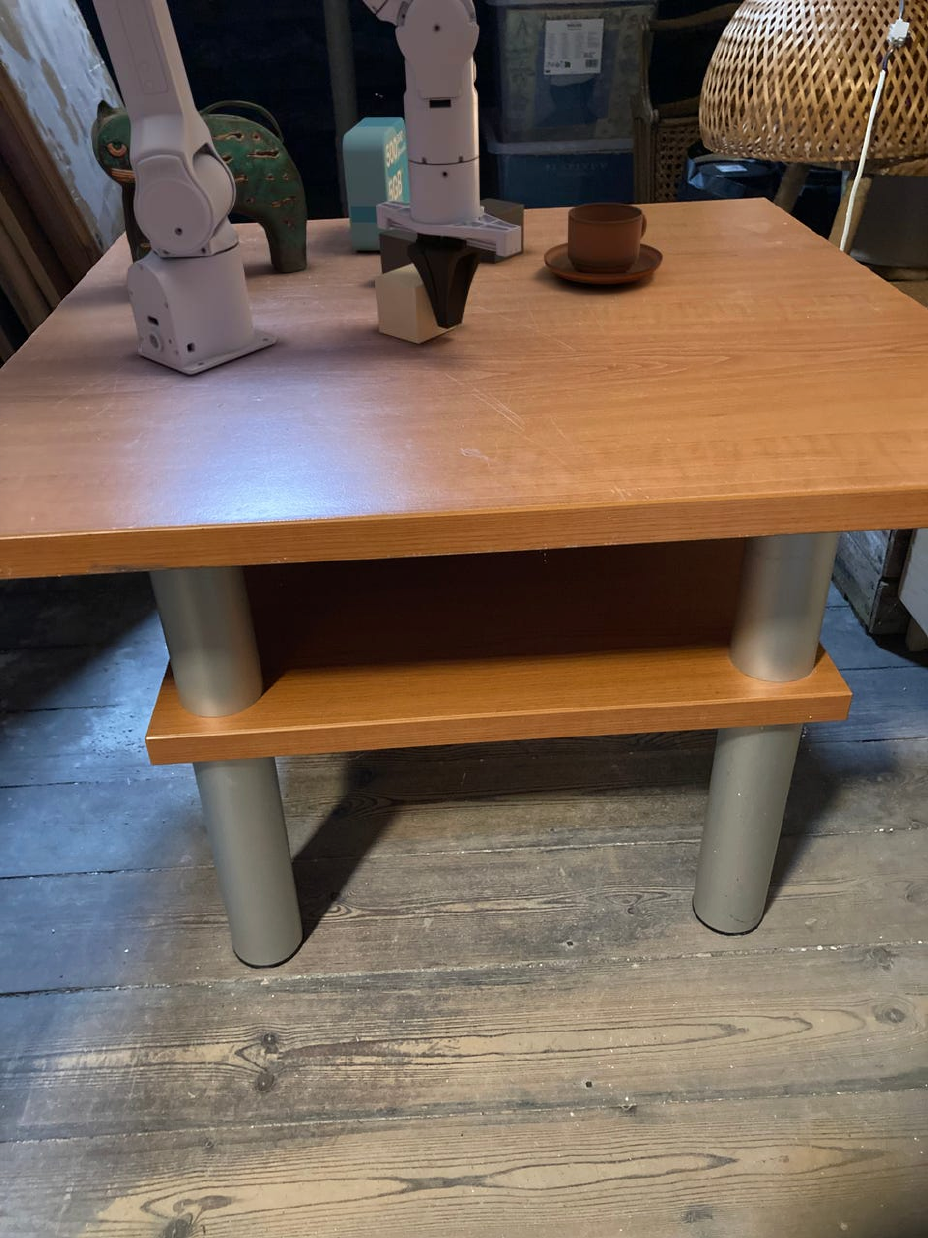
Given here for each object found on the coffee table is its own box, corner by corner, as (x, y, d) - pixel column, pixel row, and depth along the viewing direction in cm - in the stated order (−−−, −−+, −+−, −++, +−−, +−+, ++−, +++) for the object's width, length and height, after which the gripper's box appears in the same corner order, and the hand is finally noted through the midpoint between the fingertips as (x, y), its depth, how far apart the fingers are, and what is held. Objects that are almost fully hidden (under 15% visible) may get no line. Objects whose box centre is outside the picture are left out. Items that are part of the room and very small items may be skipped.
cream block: (418, 344, 85) (414, 287, 82) (378, 332, 88) (374, 276, 85) (456, 327, 88) (453, 272, 85) (416, 316, 91) (413, 262, 88)
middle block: (417, 293, 96) (414, 241, 93) (382, 283, 99) (378, 233, 96) (450, 280, 99) (449, 229, 96) (415, 271, 102) (413, 221, 99)
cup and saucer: (574, 251, 106) (576, 192, 102) (678, 266, 101) (684, 204, 97) (523, 283, 98) (523, 219, 94) (633, 301, 92) (638, 234, 89)
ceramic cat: (135, 308, 95) (81, 77, 83) (118, 290, 100) (65, 70, 88) (320, 271, 103) (295, 55, 91) (296, 256, 107) (269, 49, 95)
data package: (391, 254, 107) (382, 135, 100) (352, 254, 107) (340, 135, 100) (411, 225, 116) (405, 114, 109) (375, 224, 117) (366, 114, 110)
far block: (494, 263, 103) (494, 214, 100) (459, 255, 106) (458, 207, 103) (523, 252, 106) (524, 204, 103) (489, 244, 109) (488, 197, 106)
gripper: (546, 158, 75) (542, 329, 83) (412, 138, 83) (421, 296, 91) (487, 176, 71) (490, 353, 79) (352, 153, 79) (367, 316, 87)
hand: (449, 324), depth 85 cm, fingers closed
